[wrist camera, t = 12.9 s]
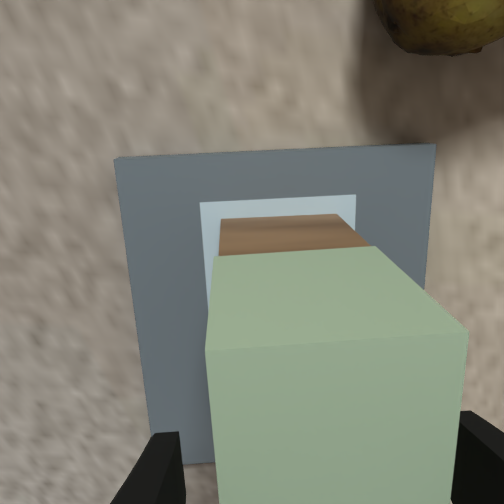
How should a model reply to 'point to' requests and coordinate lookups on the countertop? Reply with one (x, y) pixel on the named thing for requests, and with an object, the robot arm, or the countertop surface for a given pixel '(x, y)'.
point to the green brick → (331, 380)
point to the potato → (442, 24)
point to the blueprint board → (208, 234)
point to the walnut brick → (286, 234)
